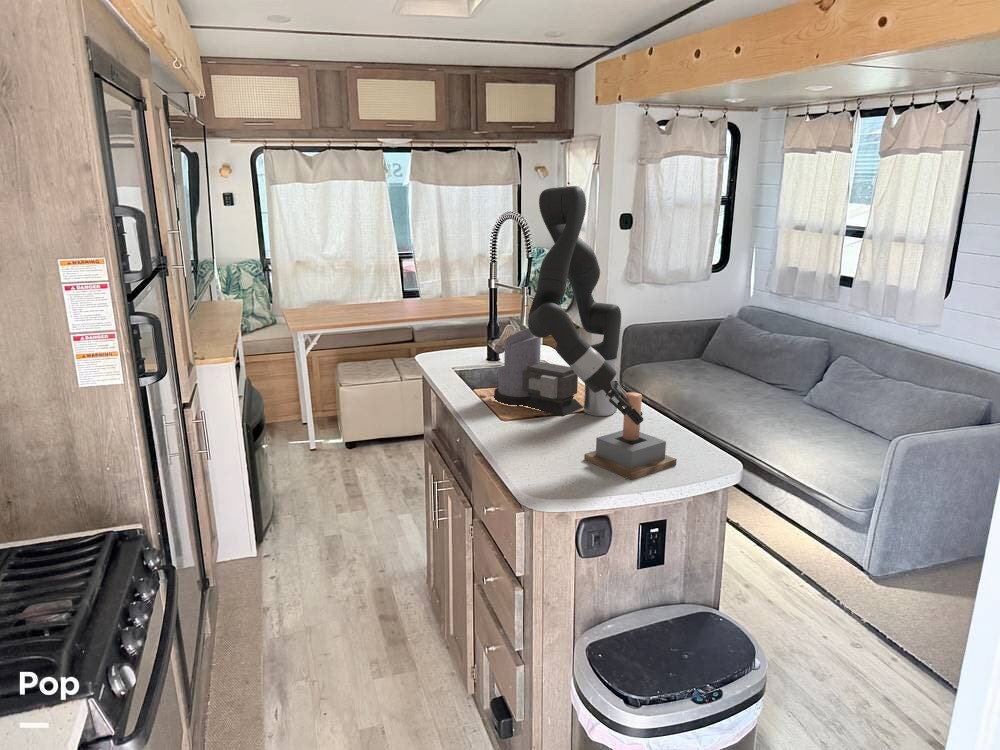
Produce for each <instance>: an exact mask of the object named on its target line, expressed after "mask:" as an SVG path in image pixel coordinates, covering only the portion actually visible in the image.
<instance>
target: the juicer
mask: <svg viewBox="0 0 1000 750" xmlns="http://www.w3.org/2000/svg"><path fill="white" fill-rule="evenodd" d="M541 340H542V338H539V337H536V336H534V335H533V334H532V333H531V331H530V330H529V327H527V328H525V329H522V330H519V331H518V332H515V333H513V334H512V335H509V336H508V337H506V338H505V340H504V365H502V366H500V367H499V368H498V376H497V377H498V379H497V380H498V382H497V383H498V385H497V386H498V387H496V388H495V389H494V391H493V396H494V398H495V400H497V401H498V402H501V403H504V404H508V405H517V406H519V405H523V406H528V407H531V408H535V409H539V410H541V411H544V412H543V413H545V412H546V413H545V414H551V415H555V416H559V417H563V418H564V417H566V416H568V415H570V414H572V413H574V412H576V411H579V410H580V409H581V410H582V409H584V405H582V404H581V403H580V402H579V401H578V400H577V399H576V398H575V396H574V395H576V394H578V384H579V383H578V381H579V377H578V376H577V375H576V374H575V372H574V371H573V370H572V368H571V367H570V366H568V365H567V366H565V365H562V364H561V365H560V364H555V363H550V362H549V363H548V362H543V361H541ZM541 411H540V412H541Z"/></svg>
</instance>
